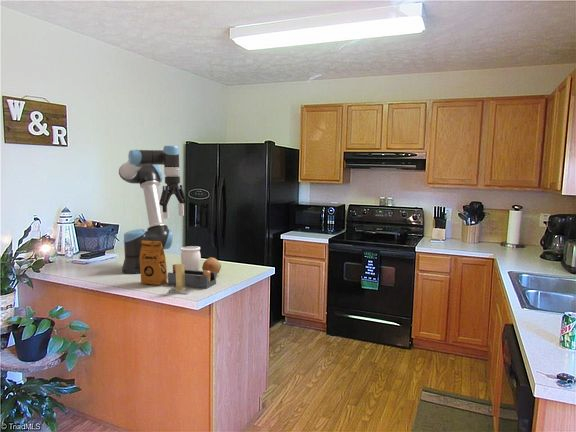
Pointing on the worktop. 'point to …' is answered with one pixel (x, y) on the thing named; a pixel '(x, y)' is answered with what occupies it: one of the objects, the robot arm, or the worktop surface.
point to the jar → (191, 257)
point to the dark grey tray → (194, 278)
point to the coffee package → (153, 263)
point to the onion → (212, 265)
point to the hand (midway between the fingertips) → (173, 217)
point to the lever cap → (180, 281)
